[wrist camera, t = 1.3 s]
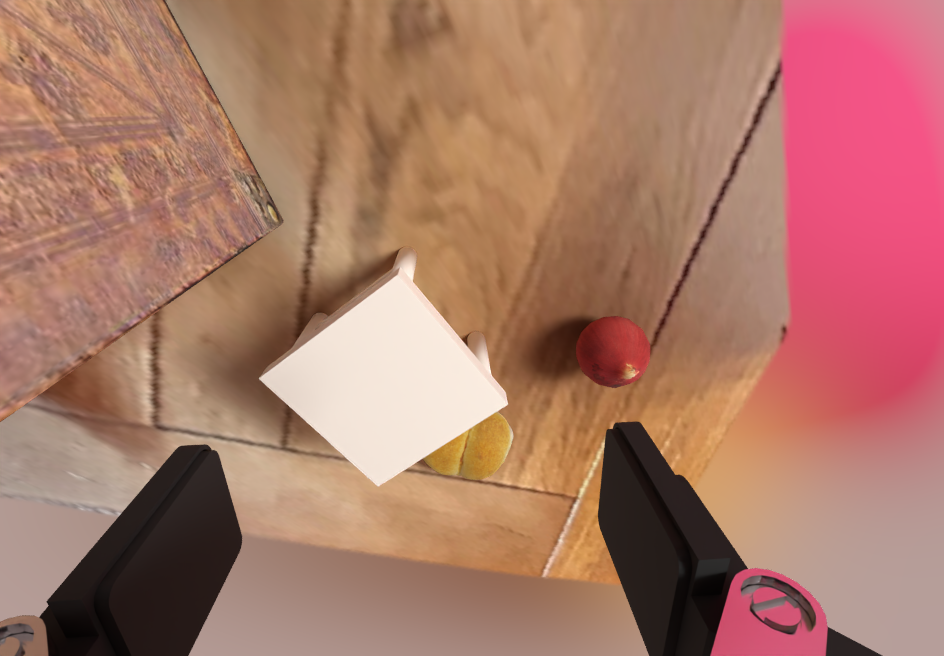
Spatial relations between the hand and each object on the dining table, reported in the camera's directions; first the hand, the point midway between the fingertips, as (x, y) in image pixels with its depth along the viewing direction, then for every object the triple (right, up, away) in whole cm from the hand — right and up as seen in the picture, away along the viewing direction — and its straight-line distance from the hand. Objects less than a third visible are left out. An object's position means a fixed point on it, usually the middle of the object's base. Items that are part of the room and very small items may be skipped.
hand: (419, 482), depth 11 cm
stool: (-5, +4, +30) cm, 31 cm away
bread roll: (+1, -6, +35) cm, 36 cm away
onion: (+13, +3, +31) cm, 34 cm away
